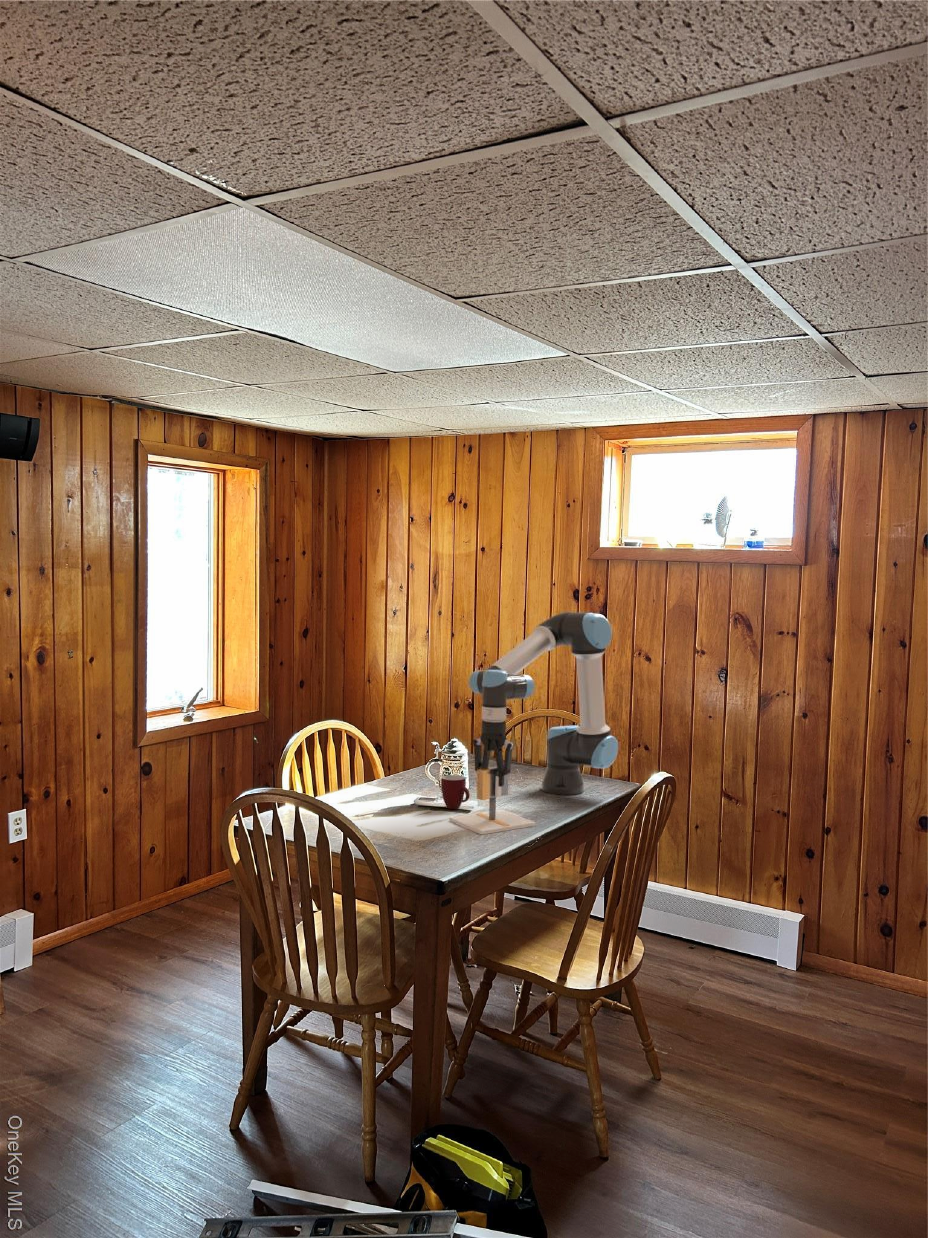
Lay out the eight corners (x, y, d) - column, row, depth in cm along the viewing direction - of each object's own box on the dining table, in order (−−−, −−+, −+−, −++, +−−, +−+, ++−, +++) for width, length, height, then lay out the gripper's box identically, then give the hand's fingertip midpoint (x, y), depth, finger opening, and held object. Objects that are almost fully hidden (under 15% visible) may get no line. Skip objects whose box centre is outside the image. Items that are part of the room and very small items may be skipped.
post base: (502, 812, 295) (502, 788, 295) (535, 825, 280) (536, 799, 280) (449, 820, 284) (449, 795, 284) (481, 834, 269) (481, 807, 269)
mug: (476, 808, 300) (476, 778, 300) (463, 813, 294) (463, 782, 293) (449, 803, 306) (449, 774, 306) (436, 808, 299) (436, 778, 299)
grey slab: (502, 793, 286) (502, 764, 286) (508, 794, 284) (508, 766, 284) (476, 798, 279) (477, 769, 279) (482, 800, 277) (483, 770, 277)
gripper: (464, 719, 281) (462, 794, 282) (513, 724, 273) (511, 801, 274) (475, 716, 288) (473, 790, 289) (523, 721, 280) (521, 796, 281)
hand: (491, 795), depth 282 cm, fingers closed on grey slab, 4 cm apart
